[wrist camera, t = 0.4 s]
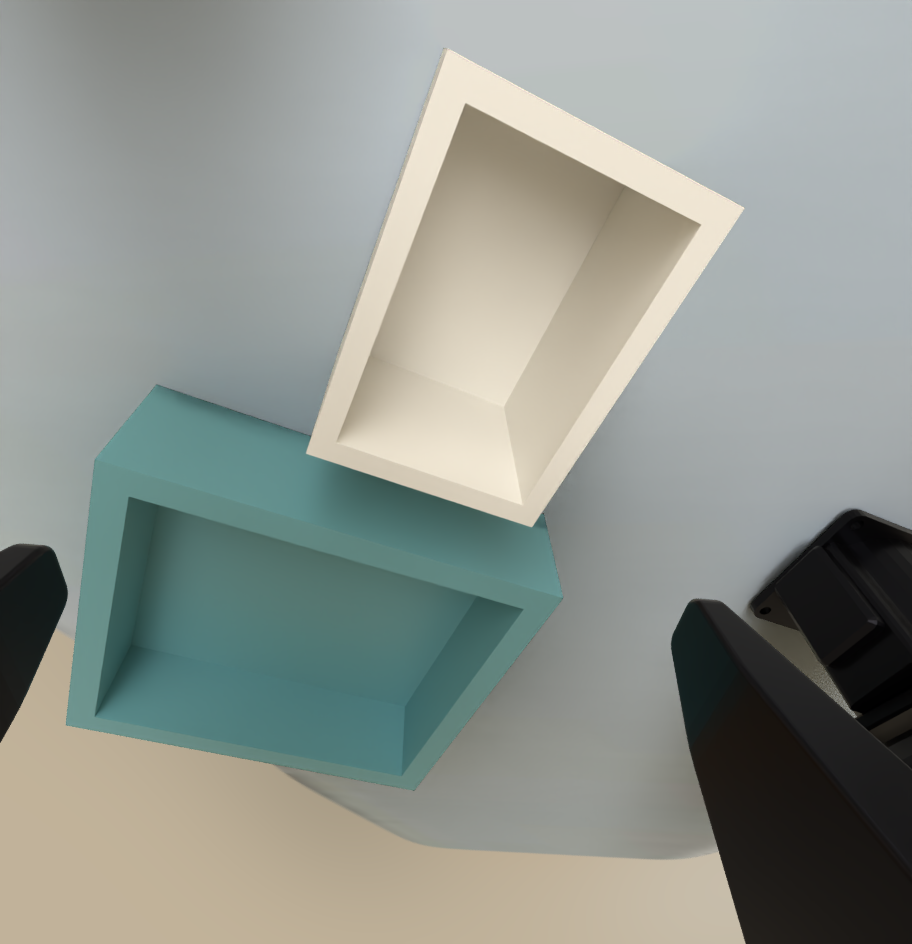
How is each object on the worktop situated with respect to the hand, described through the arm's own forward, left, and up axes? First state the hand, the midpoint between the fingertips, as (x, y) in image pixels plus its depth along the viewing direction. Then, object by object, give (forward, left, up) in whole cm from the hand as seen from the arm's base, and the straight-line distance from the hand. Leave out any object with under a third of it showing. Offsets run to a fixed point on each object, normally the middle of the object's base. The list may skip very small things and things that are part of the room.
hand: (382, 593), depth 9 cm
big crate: (-1, +13, -13) cm, 18 cm away
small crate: (-2, -2, -13) cm, 13 cm away
